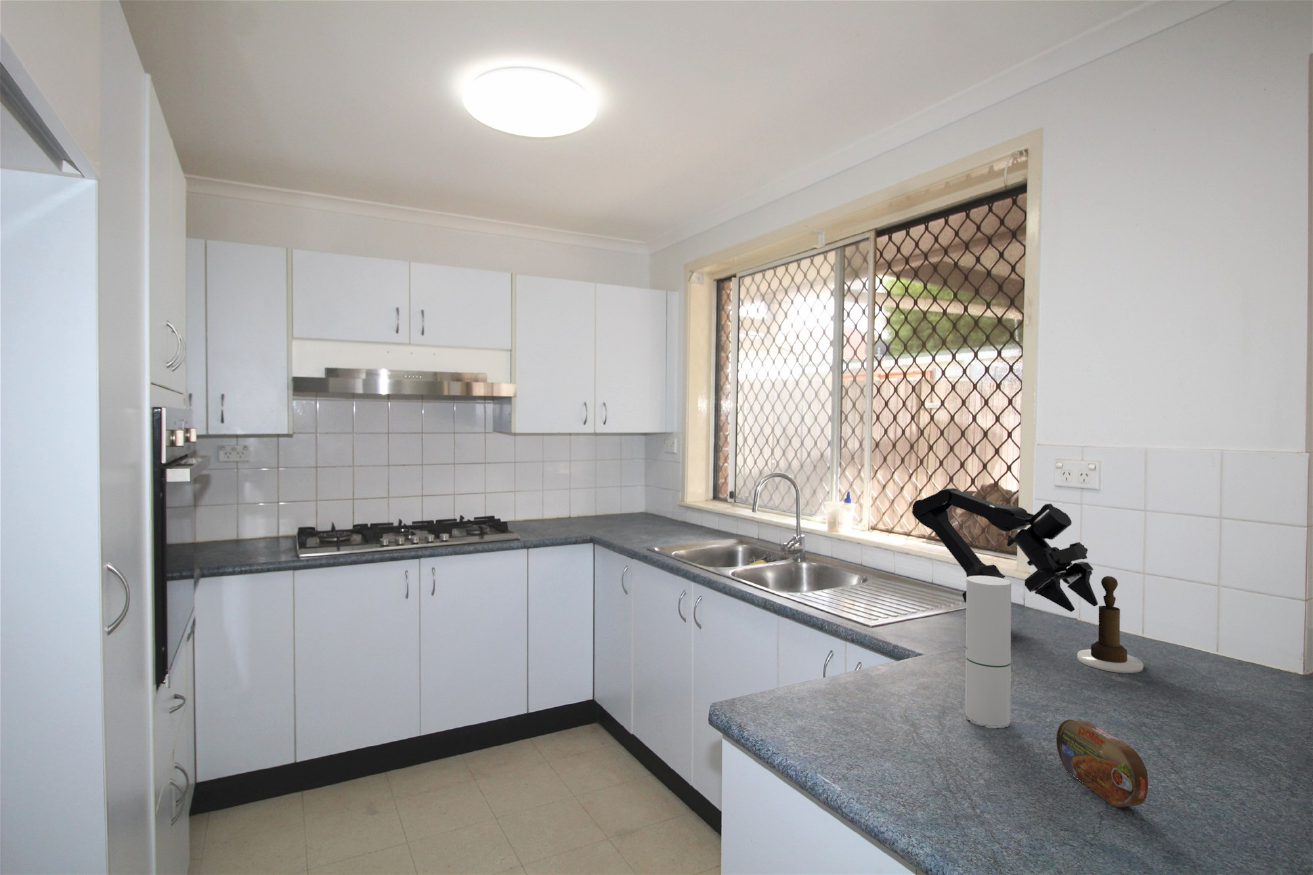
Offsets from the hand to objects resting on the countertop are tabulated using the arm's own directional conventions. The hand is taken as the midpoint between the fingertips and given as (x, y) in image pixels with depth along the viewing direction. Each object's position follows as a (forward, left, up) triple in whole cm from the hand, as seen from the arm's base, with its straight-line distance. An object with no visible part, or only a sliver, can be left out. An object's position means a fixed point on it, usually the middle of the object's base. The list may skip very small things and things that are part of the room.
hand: (1084, 608), depth 151 cm
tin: (-11, -63, -11) cm, 65 cm away
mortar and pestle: (+4, -3, -10) cm, 11 cm away
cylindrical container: (-24, -44, -11) cm, 52 cm away
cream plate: (+4, -3, -11) cm, 12 cm away
